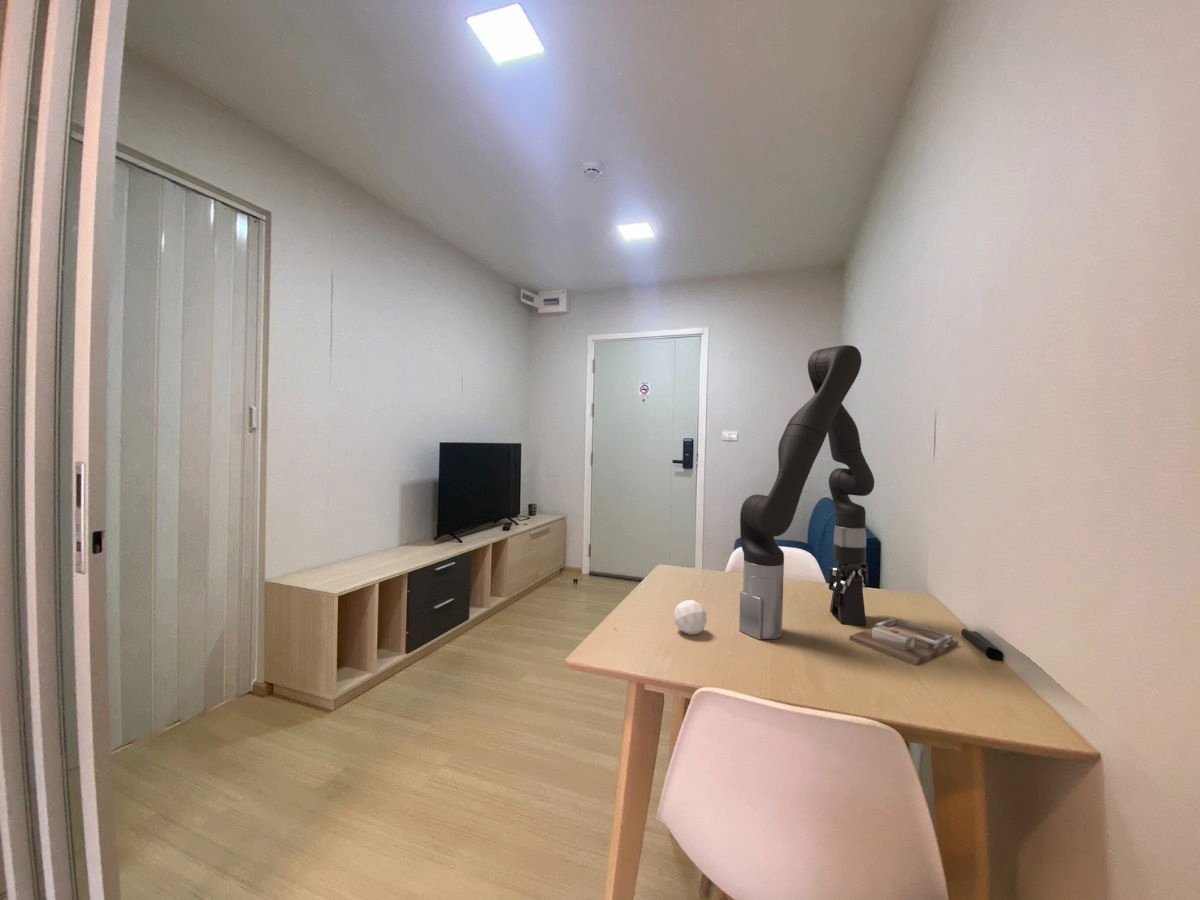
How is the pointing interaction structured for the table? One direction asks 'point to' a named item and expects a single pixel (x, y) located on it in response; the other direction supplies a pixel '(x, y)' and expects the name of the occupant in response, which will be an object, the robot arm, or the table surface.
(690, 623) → the geometric ball
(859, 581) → the black tent sign
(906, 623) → the mouse trap
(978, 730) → the table surface
